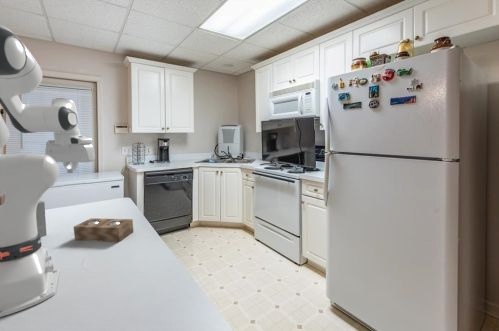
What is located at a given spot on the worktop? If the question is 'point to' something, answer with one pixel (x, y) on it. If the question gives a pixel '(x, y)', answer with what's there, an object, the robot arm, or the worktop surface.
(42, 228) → the skincare box
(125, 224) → the walnut block
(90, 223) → the steel peg
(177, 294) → the worktop surface
